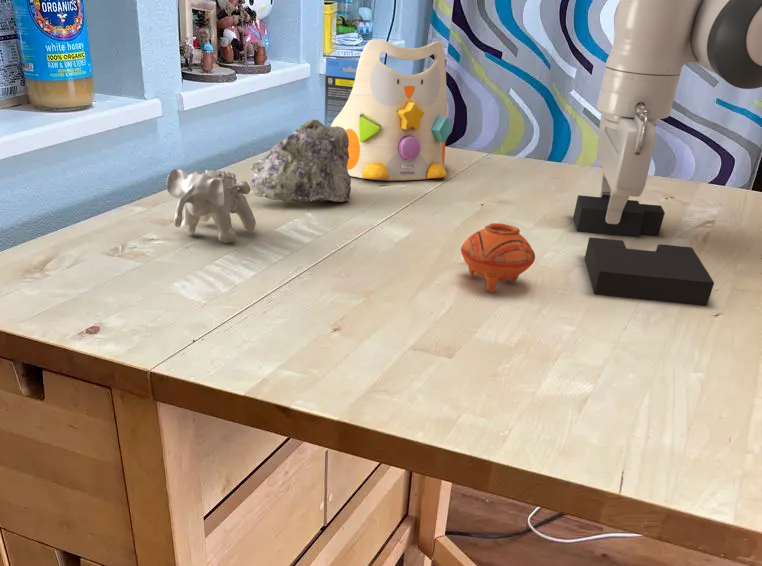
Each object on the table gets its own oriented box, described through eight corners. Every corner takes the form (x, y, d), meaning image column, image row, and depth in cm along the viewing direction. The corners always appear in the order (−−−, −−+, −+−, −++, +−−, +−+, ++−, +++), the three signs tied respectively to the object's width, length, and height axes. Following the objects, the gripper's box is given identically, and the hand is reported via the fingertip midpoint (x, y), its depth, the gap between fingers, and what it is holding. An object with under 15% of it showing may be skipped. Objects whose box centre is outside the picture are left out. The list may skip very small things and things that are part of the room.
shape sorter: (347, 185, 117) (354, 43, 106) (323, 167, 125) (327, 33, 114) (468, 180, 123) (485, 45, 113) (438, 163, 131) (451, 35, 120)
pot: (440, 281, 87) (454, 215, 84) (475, 281, 93) (490, 219, 90) (504, 299, 83) (521, 230, 80) (537, 298, 89) (554, 234, 86)
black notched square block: (685, 268, 96) (692, 247, 95) (706, 305, 87) (714, 282, 85) (584, 258, 97) (589, 237, 95) (594, 294, 88) (599, 271, 86)
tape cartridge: (377, 140, 142) (382, 59, 134) (371, 144, 139) (376, 62, 131) (329, 134, 144) (332, 54, 136) (322, 138, 141) (325, 57, 133)
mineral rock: (248, 207, 106) (245, 122, 100) (262, 186, 114) (261, 107, 108) (345, 215, 105) (349, 131, 99) (352, 193, 114) (356, 114, 108)
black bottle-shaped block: (573, 218, 110) (578, 195, 109) (653, 225, 110) (659, 202, 108) (576, 231, 106) (581, 207, 104) (660, 239, 105) (666, 215, 103)
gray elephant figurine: (259, 227, 99) (258, 160, 95) (242, 260, 90) (239, 187, 85) (185, 221, 99) (180, 154, 95) (159, 253, 90) (152, 180, 85)
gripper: (677, 114, 90) (643, 240, 98) (649, 86, 106) (622, 196, 114) (620, 109, 90) (591, 235, 99) (601, 82, 106) (577, 192, 115)
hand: (608, 214), depth 107 cm, fingers closed on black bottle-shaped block, 6 cm apart
